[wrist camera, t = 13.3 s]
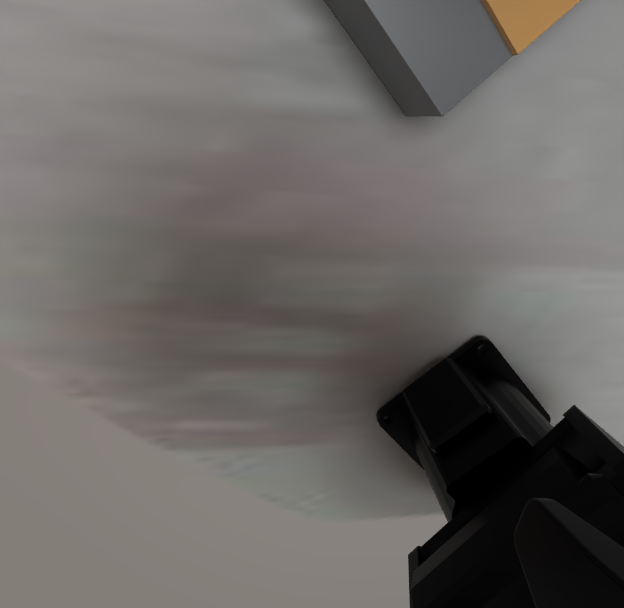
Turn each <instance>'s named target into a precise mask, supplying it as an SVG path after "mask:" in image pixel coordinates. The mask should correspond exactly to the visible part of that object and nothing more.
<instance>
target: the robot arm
mask: <svg viewBox="0 0 624 608" xmlns="http://www.w3.org/2000/svg"><path fill="white" fill-rule="evenodd" d="M482 344H485V345H484V348H483V349H481V350H478V347H479V346H480V345H482ZM388 415H391V417H390V418H389V419H384V417H385V416H388ZM376 416H377V420H378V423H379V425H380V426H381V427H382V428H383V429H384V430H385V431H386V432H387V433H388V434H389V435H390V436H391V437H392V438H393V439H394V440H395V441H396V442H397V443H398V444H399V445H400V446H401V447H402V448H403V449H404V450H405V451H406V452H407V453H408V454H409V455H410V456H411V457H412V458H413V459H414V460H415V461H416V462H417V463H418V464H419V465H420V466H421V467H422V468H423V469H424V470H425V473H426V475H427V477H428V479H429V481H430V484H431V486H432V488H433V490H434V492H435V495H436V497H437V499H438V501H439V503H440V506H441V508H442V510H443V512H444V514H445V517H446V518H447V521H448V523H447V524H446V525H445V526H444V527H443V528H442V529H440V530H439V531H438V532H437V533H436V534H435V535H434V536H433V537H432V538H431V539H429V540H428V541H427V542H426V543H425V544H424V545H423V546H422V547H421V546H417V547H416V548H415V549H414V550H413V551H412V552H411V553H410V554H409V555H408V559H409V560H408V561H409V562H408V563H409V594H410V608H624V446H622V445H621V444H620V443H619V442H618V441H616V440H615V439H614V438H613V437H612V436H611V435H609V434H608V433H607V432H606V431H605V430H603V429H602V428H601V427H600V426H599V425H597V424H596V423H595V422H594V421H593V420H592V419H590V418H589V417H588V416H587V415H586V414H584V413H583V412H582V411H581V410H580V409H578V408H577V407H576V406H575V405H573V406H572V407H571V408H570V409H569V410H568V411H567V412H565V413H564V414H563V416H564V417H565V418H564V419H562V420H561V421H560V422H559V423H558V424H557V425H556V426H555V427H553V426H552V425H551V424H550V419H551V418H550V416H549V415H548V413H547V412H546V411H545V410H544V408H543V407H542V406H541V404H540V403H539V402H538V401H537V399H536V398H535V397H534V396H533V394H532V393H531V392H530V390H529V389H528V388H527V387H526V385H525V384H524V383H523V382H522V380H521V379H520V378H519V376H518V375H517V374H516V373H515V371H514V370H513V369H512V368H511V366H510V365H509V364H508V362H507V361H506V360H505V359H504V357H503V356H502V355H501V353H500V352H499V351H498V350H497V348H496V347H495V346H494V345H493V343H492V342H491V341H490V340H489V339H488V338H486V337H485V336H477V337H475V338H473V339H472V340H471V341H469V342H468V343H467V344H465V345H464V346H463V347H461V348H460V349H459V350H457V351H456V352H455V353H453V354H452V355H451V356H449V357H448V358H447V359H444V360H443V361H441V362H440V363H439V364H437V365H436V366H435V367H433V368H432V369H431V370H429V371H428V372H427V373H425V374H424V375H423V376H421V377H420V378H419V379H417V380H416V381H415V382H413V383H412V384H411V385H409V386H408V387H407V388H405V389H404V391H403V392H402V393H400V394H399V395H398V396H396V397H395V398H394V399H392V400H391V401H390V402H389V403H387V404H386V405H385V406H383V407H382V408H381V409H380V410H379V411H378V412H377V415H376Z"/></svg>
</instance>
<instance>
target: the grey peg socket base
mask: <svg viewBox="0 0 624 608" xmlns="http://www.w3.org/2000/svg"><path fill="white" fill-rule="evenodd" d="M579 1H580V0H325V2H326V3H327V5H328V6H329V8H330V9H331V10H332V12H333V13H334V15H335V16H336V17H337V19H338V20H339V22H340V23H341V25H342V26H343V27H344V29H345V30H346V32H347V33H348V34H349V36H350V37H351V39H352V40H353V42H354V43H355V44H356V46H357V47H358V49H359V50H360V51H361V53H362V54H363V56H364V57H365V59H366V60H367V61H368V63H369V64H370V66H371V67H372V69H373V70H374V71H375V73H376V74H377V76H378V77H379V78H380V80H381V81H382V83H383V84H384V86H385V87H386V88H387V90H388V91H389V93H390V94H391V95H392V97H393V98H394V100H395V101H396V103H397V104H398V105H399V107H400V108H401V110H402V111H403V112H404V114H405V115H406V116H444V115H445V114H446V113H447V112H448V111H449V110H451V109H452V108H453V107H454V106H455V105H456V104H457V103H459V102H460V101H461V100H462V99H463V98H464V97H466V96H467V95H468V94H469V93H470V92H471V91H472V90H474V89H475V88H476V87H477V86H478V85H479V84H481V83H482V82H483V81H484V80H485V79H486V78H488V77H489V76H490V75H491V74H492V73H493V72H494V71H496V70H497V69H498V68H499V67H500V66H501V65H503V64H504V63H505V62H506V61H507V60H508V59H509V58H511V57H512V56H513V55H517V54H519V53H520V52H521V51H522V50H524V49H525V48H526V47H527V46H528V45H529V44H530V43H532V42H533V41H534V40H535V39H536V38H537V37H539V36H540V35H541V34H542V33H543V32H544V31H546V30H547V29H548V28H549V27H550V26H551V25H552V24H554V23H555V22H556V21H557V20H558V19H559V18H561V17H562V16H563V15H564V14H565V13H566V12H568V11H569V10H570V9H571V8H572V7H573V6H575V5H576V4H577V3H578V2H579Z"/></svg>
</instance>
